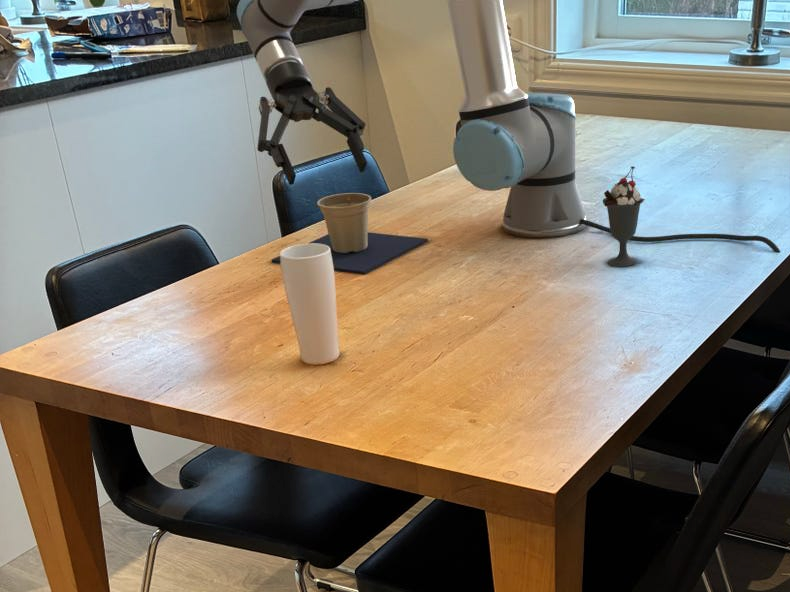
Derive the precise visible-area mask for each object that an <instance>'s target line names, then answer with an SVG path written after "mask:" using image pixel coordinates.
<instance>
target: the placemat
mask: <svg viewBox="0 0 790 592" xmlns="http://www.w3.org/2000/svg"><path fill="white" fill-rule="evenodd" d="M367 238H368V245H367V248H366V249H364V250H362V251H359V252H353V251H350V252H348V253H338V252H335V251H334V250H333V248H332V244H331V240H330V237H329V233H327V234H326V235H323V236H321V237H319V238H316V239H313V240H312V241H310V242H309V243H317V244H324V245H327V246H329V247H330V249H331V255H332V260H333V266H334V272H335V271H337V272H343V273H351V274H360V275H366V274H368V273H370V272H372V271H373V270H376V269H377V268H379V267H381V266H383V265H385V264H387V263H389V262H391V261H393V260H395V259H397V258H399V257H401V256H403V255H404V254H406V253H409V252H410V251H413V250H414V249H416V248H418V247H420V246H422V245H424V244H426V243H427V242H429V238H425V237H415V236H405V235H396V234H387V233H376V232H368V236H367ZM270 260H271V263H273V264H280V255H278V256H276V257H274V258H272V259H270Z"/></svg>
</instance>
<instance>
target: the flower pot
mask: <svg viewBox="0 0 790 592" xmlns="http://www.w3.org/2000/svg"><path fill="white" fill-rule="evenodd" d="M370 202H372V196H371V195H369V194H366V193H360V192H346V193H344V192H343V193H336V194H332V195H327V196H324V197H322V198H320V199H318V200H317V202H316V205H317V206H318V207H319V209H320V212H321V214H322V215H323V218H324V221H325V225H326V229H327V232H328V233H327V234H329V237H330V240H331V244H332V248H333V250H334V251H335V252H338V253H348V252H350V251H353V252H359V251H362V250H364V249H366V248H367V245H368V238H367V236H368V230H369V229H368V227H369V209H370Z"/></svg>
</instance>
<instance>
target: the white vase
mask: <svg viewBox="0 0 790 592" xmlns="http://www.w3.org/2000/svg"><path fill="white" fill-rule="evenodd" d="M278 256H280V263H279V264H280V270H281V271H280V272H281V277H282V282H283V288H284V291H285V292H284V293H285V295H286V296H285V297H286V299H287V303H288V307H289V312H290V316H291V319H292V322H293V323H292V324H293V328H294V331H295V336H296V340H297V344H298V349H299V357H300V359H301V360H302V362H304V363H306V364H308V365H312V366H313V365H315V366H320V365H326V364H330V363H332V362H334V361H336V360H338V358H339V357H340V353H341V351H340V343H339V330H338V313H337V310H338V309H337V290H336V288H337V287H336V275H335V270H334V266H333V260H332V255H331V249H330V247H329V246H327V245H324V244H317V243H310V242H308V243H300V244H295V245H291V246H288V247H286V248H283V249H282V250H281V251H280V252H279V255H278Z"/></svg>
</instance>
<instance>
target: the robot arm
mask: <svg viewBox="0 0 790 592" xmlns="http://www.w3.org/2000/svg"><path fill="white" fill-rule="evenodd" d="M357 1H359V0H239V2H238V4H237V6H236V17H237V19H238V22H239V25H240V28H241V32H242V34H243V36H244V37H245V39H246V41H247V43H248V45H249V48H250V50H251V52H252V54H253V57H254V59H255V62H256V63H257V67H258V68H259V71H260V73H261V75H262V77H263V80H264V81H265V84H266V87H267V89H268V91H269V93H270V96H271V98H272V99H268V98H267V97H266V96H261V97H260V99H259V103H258V111H259V114H260V122H259V131H258V139H257V151H258V152H259V153H264V151H265V152H267V156H270V157H272V161H273V162H274V165H275V166H276V167H277V168H281V169H282V171H283V173H284V176H285V178H286V180H287V182H288V185H289V186H292V185H295V181H296V176H297V174H296V172H295V169H294V167H293V166H292V163H291V161H290V160H291V159H290V158H289V156H288V154H287V151H286V149H285V147H284V144H283V143H280V142H281V140H282V138H283V135H284V133H285V131H286V128H287V127H288V125H289V122H290V121H293V122H294V123H299V122H301V121H311V120H312V119H313V120H315V121H316V122H321V123H323V124H325V125H326V126H328V127H330V128H331V129H332V130H334V131H337V132H338V133H339V134H340V135H342V136H344V137H346V138H347V139H346V144H347V146H348V148H349V151H350V152H351V155H352V157H353V160H354V162H355V164H356V166H357V168H358V171H359V173H362V172H365V170H366V167H367V164H368V161H367V159H366V156H365V154H364V151H365V144H364V142H363V139H362V137H361V136H363V134H364V131H365V129H366V125H367V124H366V122H365V121H363V120H362V119H361V118H360V117H359V116H358V115H357V114H356V113H355V112H354V111H353V110H351V109H350V108H349V107H348V106H347V105H346V104H345V103H344V102H343V101H342V100H340V98H338V97H337V96H336V94H335V92H334V90H333V88H331V87H329V86H328V87H326V88H325V90H324V91H321V92H317V91H316V90H315V89H314V86H313V84H312V81H311V79H310V76H309V74H308V72H307V70H306V68H305V66H304V63H303V61H302V59H301V56H300V54H299V52H298V50H297V48H296V46H295V43H294V41H293V38H292V36H291V31H292V30H293V29H294V27H295V26H296V24H297V23H298V21H299V19H300V18H301V17H302V16H303V14H304V13H305V12H306V11H311V10H316V9H321V8H329V7H334V6H341V5H350V4H353V3H354V2H357ZM446 3H447V8H448V13H449V17H450V24H451V29H452V33H453V34H452V35H453V39H454V45H455V49H456V54H457V61H458V65H459V70H460V75H461V81H462V85H463V91H464V98H463V101H462V102H461V103H460V106H459V108H458V115H459V120H460V124H461V127H460V128H459V129H458V131H457V133H456V136H455V137H454V139H453V145H452V154H453V158H454V162H455V165H456V167H457V169H458V171H459V172H460V174H461V175H462V177H463V178H464V179H465V180H466V181H467V182H469V183H470V184H472V186H474V187H475V188H478V189H480V190H482V191H487V192H496V191H500V190H503V189H509V188H510V189H509V193H508V198H507V201H506V204H505V208H504V212H503V215H502V229H503V230H504V232H505V233H508V234H509V235H513V236H516V237H521V238H522V237H524V238H554V237H561V236H566V235H571V234H574V233H577V232H580V231H581V230H583V229H584V228H585V227H586V226H587V227H591V228H593V229H596V230H599V231H602V232H605V233H608V234H611V230H610V227H609V226H608V227H607V226H604V225H602V224H599V223H597V222H593V221H591V220H590V221H589V220H588V219H587V216H586V211H585V207H584V204H583V201H582V198H581V195H580V192H579V188H578V186H577V181H576V119H577V116H576V113H575V102H574V99H573V98H572V97H571V96H570V95H568V94H563V93H561V94H560V93H526V92H525V91H524V90H522V88H520V87H519V86H518V84H517V79H516V74H515V67H514V61H513V55H512V48H511V44H510V37H509V32H508V26H507V20H506V14H505V9H504V2H503V0H446ZM273 109H275V111H277V112H279V113H280V114H281V115H280V118H279V120H278V122H277V125H276V126H275V129H274V132H273V134H272V136H271V138H270V139H267V137H268V136H267V135H268V129H269V120H270V115H271V113H272V112H273ZM317 110H318V111H317ZM678 240H730V241H739V242H762V243H764V244H766V245H767V246H768V247H769V248H770V249H771V250H772V251H773V252H774V253H776V254H779V253H781V249H780V248H779V247H778V246H777V245H776V243H774V242H773V241H772V240H771V239H769V238H768V237H765V236H762V235H739V234H727V233H683V234H682V233H678V234H670V235H669V234H668V235H658V236H638V235H633V237H632V238H631V239H629V240H628V241H630V242H639V243H658V242H668V241H678Z"/></svg>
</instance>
